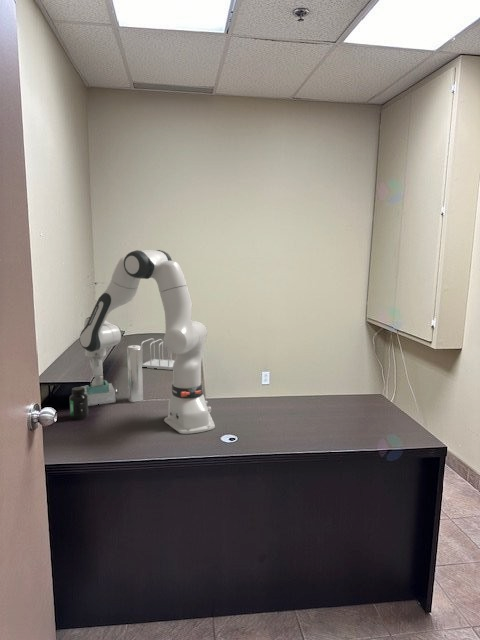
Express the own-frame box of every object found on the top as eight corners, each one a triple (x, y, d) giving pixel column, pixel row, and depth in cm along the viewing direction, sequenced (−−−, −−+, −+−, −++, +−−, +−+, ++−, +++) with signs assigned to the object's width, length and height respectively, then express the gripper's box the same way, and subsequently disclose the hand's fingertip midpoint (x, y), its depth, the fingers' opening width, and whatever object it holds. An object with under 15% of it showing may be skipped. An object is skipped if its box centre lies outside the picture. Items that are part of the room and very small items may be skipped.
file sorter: (190, 364, 256) (190, 339, 254) (178, 371, 239) (178, 344, 237) (153, 361, 263) (153, 337, 261) (140, 368, 246) (139, 342, 244)
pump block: (103, 390, 187) (103, 377, 186) (88, 391, 185) (88, 378, 184) (102, 386, 192) (102, 374, 191) (88, 388, 189) (87, 375, 188)
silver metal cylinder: (139, 402, 185) (137, 347, 182) (126, 401, 187) (124, 347, 183) (145, 398, 192) (144, 345, 188) (132, 397, 193) (130, 344, 190)
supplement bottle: (70, 421, 164) (69, 392, 162) (69, 415, 170) (68, 387, 168) (89, 418, 166) (87, 389, 165) (87, 413, 173) (86, 385, 171)
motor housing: (120, 401, 186) (119, 385, 185) (82, 406, 180) (81, 389, 179) (115, 392, 199) (115, 377, 198) (80, 397, 193) (79, 381, 192)
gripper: (105, 355, 178) (106, 386, 180) (100, 346, 196) (101, 375, 198) (90, 357, 175) (91, 388, 177) (86, 347, 194) (87, 376, 196)
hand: (96, 381), depth 188 cm, fingers open, 8 cm apart
